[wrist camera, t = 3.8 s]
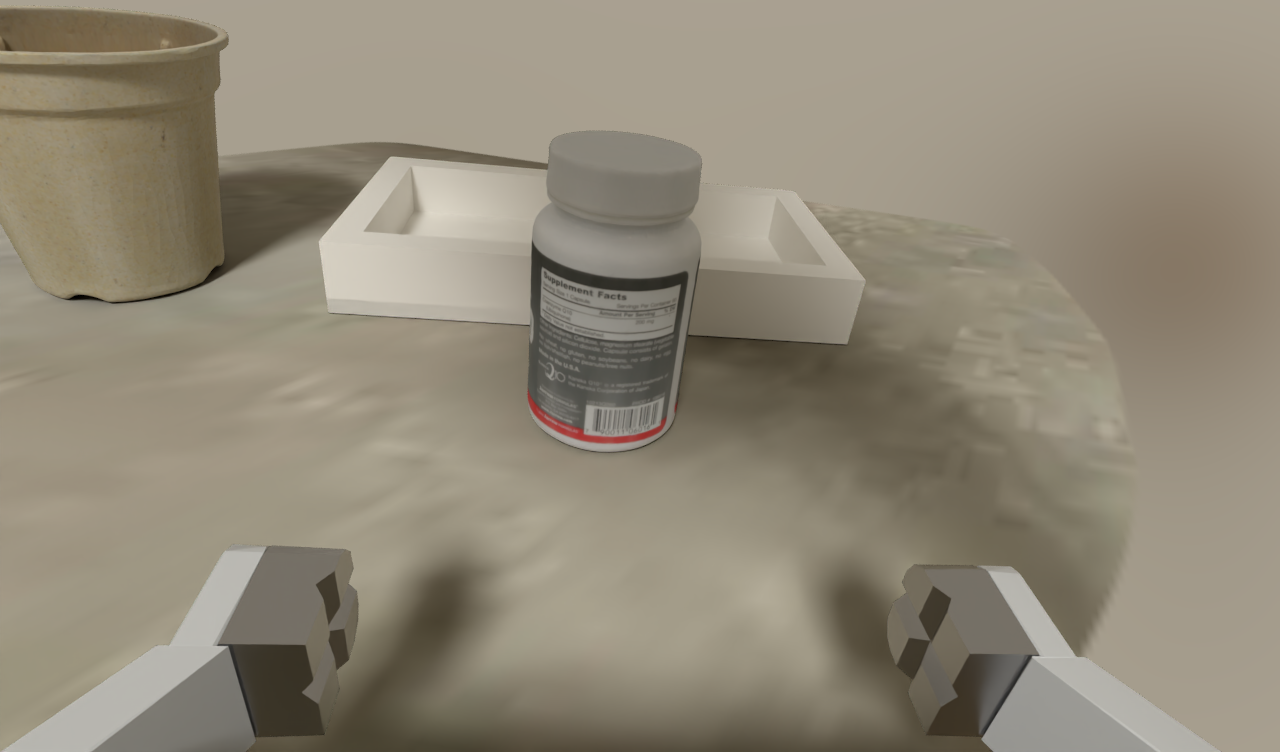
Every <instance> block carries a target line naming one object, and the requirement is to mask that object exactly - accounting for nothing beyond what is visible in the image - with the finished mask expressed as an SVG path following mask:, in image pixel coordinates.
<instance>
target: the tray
mask: <svg viewBox="0 0 1280 752" xmlns="http://www.w3.org/2000/svg"><path fill="white" fill-rule="evenodd" d="M546 179H547V170H544V169H532V168H520V167H509V166H497V165H485V164H474V163H462V162H450V161H439V160H427V159H415V158H404V157H392V156H390V158H389V159H388V160H387V161H386V162H385V163H384V165H383V166H382V167H381V168H380V169H379V171H378V172H377V173H376V174H375V175H374V176H373V178H372V179H371V180H370V181H369V182H368V184H367V185H366V186H365V187H364V188H363V189H362V191H361V192H360V193H359V194H358V195H357V197H356V198H355V199H354V200H353V201H352V203H351V204H350V205H349V206H348V207H347V208H346V210H345V211H344V212H343V213H342V214H341V216H340V217H339V218H338V219H337V220H336V221H335V223H334V224H333V225H332V226H331V227H330V229H329V230H328V231H327V232H326V233H325V234H324V236H323V237H322V238H321V239H320V240H319V246H320V254H321V261H322V268H323V276H324V283H325V290H326V298H327V305H328V312H329V313H342V314H358V315H375V316H391V317H407V318H423V319H440V320H456V321H472V322H489V323H505V324H521V325H530V298H531V250H532V232H533V225H534V222H535V219H536V217H537V215H538V214H539V212H540V211H541V210H542V209H543V208H544V207H545V206H547V205H548V204H550V203H551V200H550V199H549V197H548V195H547V186H546ZM688 217H689V218H690V219H691V220H692V221H693V222H694V224H695V225H696V227H697V229H698V231H699V233H700V236H701V242H702V245H701V256H700V264H699V269H698V276H697V282H696V288H695V294H694V300H693V306H692V312H691V318H690V325H689V331H688V335H701V336H717V337H733V338H749V339H766V340H782V341H798V342H815V343H831V344H847V343H848V340H849V336H850V333H851V330H852V326H853V323H854V319H855V316H856V313H857V309H858V306H859V302H860V299H861V295H862V292H863V289H864V285H865V282H866V280H865V279H864V278H863V276H862V275H861V274H860V273H859V271H858V270H857V269H856V268H855V266H854V265H853V264H852V263H851V261H850V260H849V259H848V258H847V256H846V255H845V254H844V253H843V251H842V250H841V249H840V248H839V246H838V245H837V244H836V243H835V241H834V240H833V239H832V238H831V236H830V235H829V234H828V233H827V231H826V230H825V229H824V228H823V226H822V225H821V224H820V223H819V221H818V220H817V219H816V218H815V216H814V215H813V214H812V213H811V211H810V210H809V209H808V208H807V206H806V205H805V204H804V203H803V201H802V200H801V199H800V198H799V196H798V195H797V194H796V193H795V191H788V190H778V189H766V188H754V187H742V186H731V185H719V184H707V183H700V186H699V199H698V202H697V204H696V205H695V208H694V211H693V212H692V214H691V215H690V216H688Z"/></svg>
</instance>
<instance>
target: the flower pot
mask: <svg viewBox="0 0 1280 752" xmlns="http://www.w3.org/2000/svg"><path fill="white" fill-rule="evenodd" d="M228 40H229V39H228V34H227V32H225V30H224V29H221V28H219V27H217V26H215V25H211V24H209V23H205V22H200V21H197V20H193V19H188V18H183V17H177V16H172V15H163V14H154V13H145V12H137V11H127V10H115V9H100V8H98V9H97V8H82V7H66V6H63V7H61V6H53V7H52V6H0V223H1V225H2V227H3V229H4V230H5V232H6V234H7V236H8V237H9V239H10V241H11V243H12V244H13V246H14V248H15V250H16V251H17V253H18V255H19V256H20V258H21V260H22V262H23V263H24V265H25V267H26V268H27V270H28V272H29V274H30V276H31V279H32V280H33V282H34V283H35V284H36V285H37V286H38V287H39V288H41V289H42V290H44V291H45V292H47V293H49V294H52V295H54V296H57V297H60V298H64V299H69V298H71V297H73V296H75V295H88V296H93V297H96V298H100V299H102V300H104V301H107V302H126V301H134V300H142V299H147V298H152V297H156V296H161V295H165V294H169V293H173V292H178V291H182V290H184V289H187V288H190V287H192V286H195V285H197V284H199V283H201V282H203V281H204V280H205V279H206V277H207V276H208V274H209V273H210V272H211V270H212V269H213V268H214V267H215V266H221V265H222V264H223V262H224V257H225V253H224V244H223V231H222V215H221V200H220V185H219V168H218V152H217V137H216V124H215V123H216V122H215V102H214V93H215V91H216V90H217V88H218V87H219V85H220V66H219V51H221V50H223V49H224V48H225V47H226V46H227V45H228Z"/></svg>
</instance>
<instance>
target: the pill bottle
mask: <svg viewBox="0 0 1280 752" xmlns="http://www.w3.org/2000/svg"><path fill="white" fill-rule="evenodd" d="M701 168H702V159H701V156H700V155H699V154H698V153H697V152H696V151H694V150H693V149H691V148H689V147H687V146H685V145H682V144H679V143H677V142H674V141H670V140H666V139H662V138H658V137H654V136H648V135H643V134H636V133H626V132H616V131H582V132H573V133H567V134H563V135H560V136H558V137H556V138H554V139H553V140H552V141H551V143H550V147H549V160H548V170H547V179H546V186H547V195H548V197H549V199H550V200H551V203H550V204H548V205H547V206H545V207H544V208H543V209H542V210H541V211H540V212H539V214H538V215H537V217H536V219H535V222H534V225H533V232H532V250H531V298H530V338H529V373H528V406H529V411H530V413H531V416H532V418H533V419H534V421H535V422H536V423H537V425H538V426H539V427H540V428H541V429H542V430H544V431H545V432H546V433H548V434H549V435H551V436H552V437H554V438H555V439H557V440H559V441H561V442H563V443H565V444H568V445H570V446H573V447H576V448H580V449H583V450H589V451H596V452H619V451H626V450H631V449H636V448H639V447H642V446H644V445H647V444H649V443H651V442H653V441H654V440H656V439H658V438H659V437H660V436H662V435H663V434H664V433H665V432H666V431H667V430H668V429H669V427H670V426H671V424H672V422H673V420H674V417H675V412H676V408H677V402H678V395H679V388H680V381H681V375H682V369H683V362H684V356H685V350H686V343H687V337H688V331H689V325H690V318H691V312H692V306H693V300H694V294H695V288H696V282H697V276H698V269H699V264H700V256H701V245H702V242H701V236H700V233H699V231H698V229H697V227H696V225H695V224H694V222H693V221H692V220H691V219H690V218H689V217H688V216H690V215H691V214H692V212H693V211H694V208H695V205H696V204H697V202H698V199H699V186H700V177H701Z"/></svg>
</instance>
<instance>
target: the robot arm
mask: <svg viewBox="0 0 1280 752" xmlns="http://www.w3.org/2000/svg"><path fill="white" fill-rule="evenodd" d="M353 569H354V567H353V562H352V557H351V551H348V550H346V549H330V548H310V547H291V546H259V545H239V544H233V545H232V546H230V547H229V548H228V549H227V550H226V551H224V552H223V553H222V555H221V557H220V558H219V560H218V562H217V563H216V565H215V567H214V569H213V570H212V572H211V574H210V575H209V577H208V579H207V581H206V582H205V584H204V586H203V587H202V589H201V591H200V593H199V594H198V596H197V598H196V599H195V601H194V603H193V605H192V606H191V608H190V610H189V612H188V613H187V615H186V617H185V618H184V620H183V622H182V624H181V625H180V627H179V629H178V630H177V632H176V634H175V636H174V637H173V639H172V641H171V642H170V644H169V645H156V646H155V647H153V648H152V649H150V650H149V651H147V652H146V653H144V654H143V655H141V656H140V657H139V658H137V659H136V660H134V661H133V662H131V663H130V664H128V665H127V666H125V667H124V668H122V669H121V670H120V671H118V672H117V673H115V674H114V675H112V676H111V677H109V678H108V679H106V680H105V681H103V682H102V683H100V684H99V685H98V686H96V687H95V688H93V689H92V690H90V691H89V692H87V693H86V694H84V695H83V696H81V697H80V698H79V699H77V700H76V701H74V702H73V703H71V704H70V705H68V706H67V707H65V708H64V709H62V710H61V711H60V712H58V713H57V714H55V715H54V716H52V717H51V718H49V719H48V720H46V721H45V722H43V723H42V724H41V725H39V726H38V727H36V728H35V729H33V730H32V731H30V732H29V733H27V734H26V735H24V736H23V737H22V738H20V739H19V740H17V741H16V742H14V743H13V744H11V745H10V746H8V747H7V748H5V749H4V750H2V751H1V752H246V751H247V750H248V749H249V748H250V747H251V746H252V745H253V744H254V743H255V742H256V738H255V737H278V736H314V735H325V732H326V729H327V726H328V723H329V720H330V717H331V714H332V711H333V708H334V705H335V702H336V699H337V696H338V693H339V689H340V688H339V682H338V676H337V670H338V669H339V668H340V667H341V666H342V665H344V664H345V663H346V662H347V661H348V660H349V658H350V655H351V652H352V648H353V645H354V642H355V636H356V630H357V624H358V605H359V603H358V595H357V591H356V590H355V589H354V588H353V587H352V586H351V585H350V584H348V583H349V581H350V578H351V575H352V572H353ZM902 583H903V585H904V588H905V590H906V592H907V593H906V594H904V595H903V596H902V597H900V598H899V599H897V600H896V601H895V602H893V604H892V607H891V610H890V613H889V615H888V618H887V638H888V643H889V647H890V651H891V654H892V656H893V659H894V661H895V664H896V666H897V667H898V668H899V669H901V670H902V671H903V672H904V673H905V674H906V675H907V676H909V677H910V678H911V679H912V681H911V684H910V687H909V690H908V695H909V697H910V699H911V702H912V704H913V706H914V709H915V711H916V713H917V716H918V718H919V720H920V723H921V725H922V727H923V729H924V732H925V734H926V735H941V736H976V737H983V738H982V739H981V740H982V741H983V742H984V743H985V744H986V745H987V746H988V747H989V748H990V749H991V750H992V751H993V752H1221V751H1220V750H1218V749H1217V748H1215V747H1214V746H1213V745H1211V744H1209V743H1208V742H1207V741H1205V740H1204V739H1203V738H1201V737H1200V736H1198V735H1197V734H1195V733H1194V732H1193V731H1191V730H1190V729H1188V728H1187V727H1185V726H1184V725H1182V724H1181V723H1179V722H1178V721H1177V720H1175V719H1174V718H1173V717H1171V716H1170V715H1168V714H1167V713H1165V712H1164V711H1163V710H1161V709H1160V708H1158V707H1157V706H1155V705H1154V704H1153V703H1151V702H1150V701H1148V700H1147V699H1145V698H1144V697H1143V696H1141V695H1140V694H1138V693H1137V692H1135V691H1134V690H1132V689H1131V688H1130V687H1128V686H1127V685H1125V684H1124V683H1123V682H1121V681H1120V680H1118V679H1116V678H1115V677H1114V676H1112V675H1111V674H1110V673H1108V672H1107V671H1105V670H1104V669H1102V668H1101V667H1100V666H1098V665H1097V664H1095V663H1094V662H1092V661H1091V660H1090V659H1088V658H1087V657H1076V655H1075V654H1074V652H1073V651H1072V649H1071V648H1070V647H1069V645H1068V644H1067V642H1066V641H1065V639H1064V638H1063V636H1062V635H1061V633H1060V632H1059V630H1058V629H1057V627H1056V626H1055V625H1054V623H1053V622H1052V620H1051V619H1050V617H1049V616H1048V614H1047V613H1046V611H1045V610H1044V608H1043V607H1042V605H1041V604H1040V602H1039V601H1038V600H1037V598H1036V597H1035V595H1034V594H1033V592H1032V591H1031V589H1030V588H1029V586H1028V585H1027V583H1026V582H1025V580H1024V579H1023V578H1022V576H1021V575H1020V573H1019V572H1018V571H1016V570H1015V569H1013V568H1012V567H1011V566H973V565H917V564H914V565H913V566H912V567H911V568H909V569H908V570H907V572H906V574H905V576H904V579H903V581H902Z"/></svg>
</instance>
